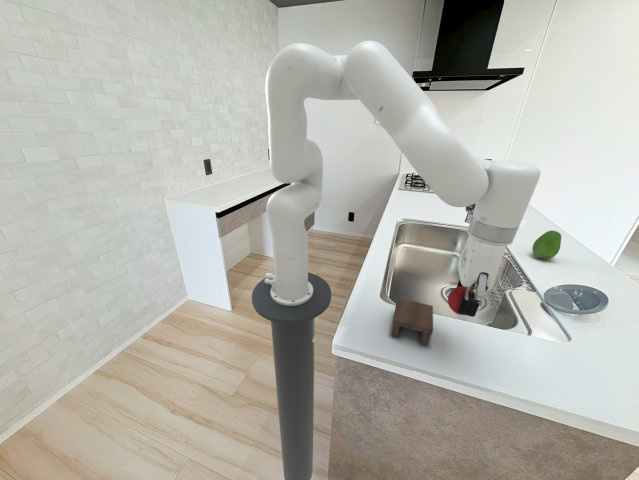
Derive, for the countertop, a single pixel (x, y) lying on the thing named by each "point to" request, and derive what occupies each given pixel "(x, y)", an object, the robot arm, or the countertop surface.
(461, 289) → the onion
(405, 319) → the stand
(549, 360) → the countertop surface
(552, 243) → the avocado
